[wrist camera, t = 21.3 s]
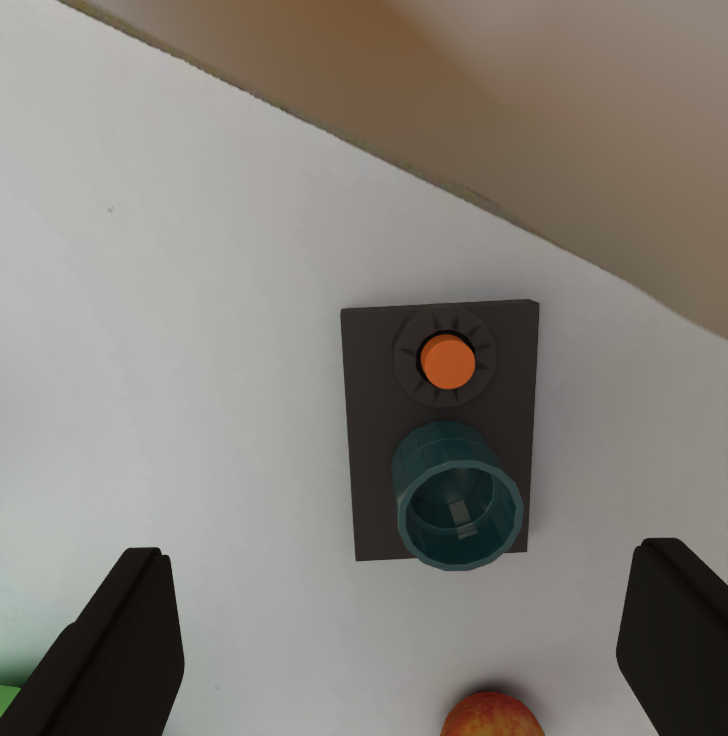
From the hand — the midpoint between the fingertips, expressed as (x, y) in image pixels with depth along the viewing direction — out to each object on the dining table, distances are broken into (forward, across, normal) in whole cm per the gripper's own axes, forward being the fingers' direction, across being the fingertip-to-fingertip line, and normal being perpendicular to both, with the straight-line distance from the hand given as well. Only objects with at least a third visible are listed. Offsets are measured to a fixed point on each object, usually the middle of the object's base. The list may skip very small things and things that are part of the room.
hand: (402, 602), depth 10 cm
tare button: (+17, -4, 0) cm, 17 cm away
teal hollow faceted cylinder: (+18, -4, +7) cm, 20 cm away
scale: (+20, -4, +5) cm, 21 cm away
